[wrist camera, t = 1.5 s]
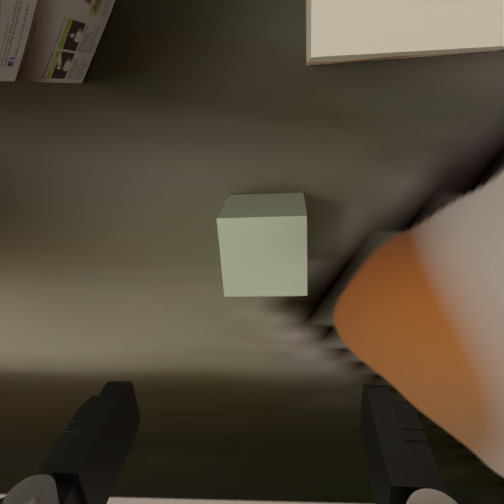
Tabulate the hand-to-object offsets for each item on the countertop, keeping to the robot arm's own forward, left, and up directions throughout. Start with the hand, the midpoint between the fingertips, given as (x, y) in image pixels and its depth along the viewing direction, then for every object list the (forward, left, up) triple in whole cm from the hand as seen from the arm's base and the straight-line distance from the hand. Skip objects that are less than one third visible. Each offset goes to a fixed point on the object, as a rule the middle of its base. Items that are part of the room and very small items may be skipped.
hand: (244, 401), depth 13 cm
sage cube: (0, 0, -18) cm, 18 cm away
